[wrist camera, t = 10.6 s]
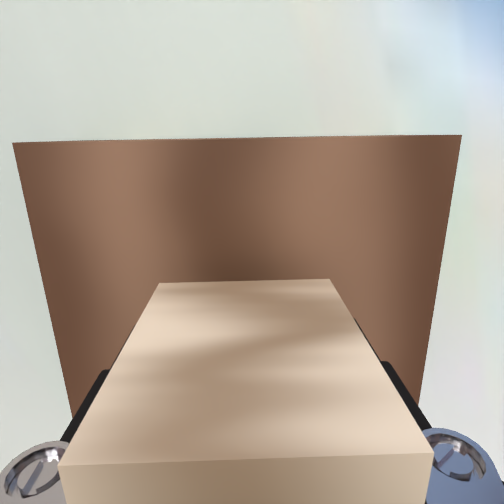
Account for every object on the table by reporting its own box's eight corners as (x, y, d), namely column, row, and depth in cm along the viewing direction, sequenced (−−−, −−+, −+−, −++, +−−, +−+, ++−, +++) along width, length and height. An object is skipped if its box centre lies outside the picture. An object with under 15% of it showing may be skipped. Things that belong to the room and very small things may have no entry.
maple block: (329, 278, 10) (434, 452, 5) (321, 414, 12) (393, 667, 6) (159, 283, 10) (57, 465, 5) (174, 419, 12) (111, 680, 6)
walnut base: (402, 134, 14) (461, 134, 10) (373, 400, 18) (407, 470, 14) (75, 140, 14) (12, 142, 10) (119, 408, 18) (86, 482, 14)
